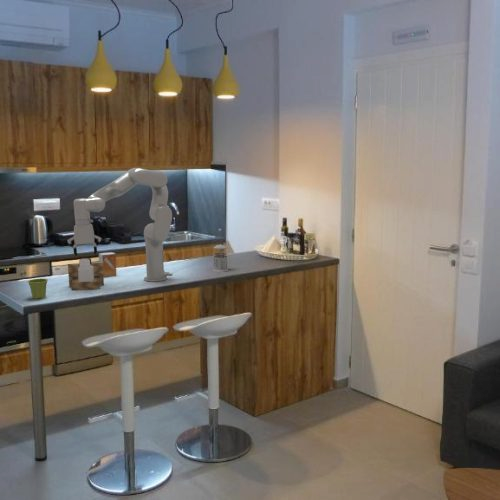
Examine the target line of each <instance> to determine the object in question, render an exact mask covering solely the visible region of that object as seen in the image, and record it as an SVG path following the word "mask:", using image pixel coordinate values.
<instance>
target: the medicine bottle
mask: <svg viewBox="0 0 500 500" xmlns="http://www.w3.org/2000/svg"><path fill="white" fill-rule="evenodd" d="M78 262H79V263H78V264H80V267H79V268H78V282H92V281H93V280H94V268H93V266H91V263H92V259H91V258H90V257H82V258H79V261H78Z"/></svg>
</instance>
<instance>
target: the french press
mask: <svg viewBox="0 0 500 500" xmlns="http://www.w3.org/2000/svg"><path fill="white" fill-rule="evenodd" d="M221 231H222V228H218V232H221ZM227 248H228V247H227V246H226V245H225V244H221V243H219V244H216V245H215V246H214V247H213V250H219V252H216V253H214V256H213V269H212V271H213V272H228V271H229V268H228V256H227V253H226V252H225V251H224V250H225V249H227ZM222 250H223V251H222Z"/></svg>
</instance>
